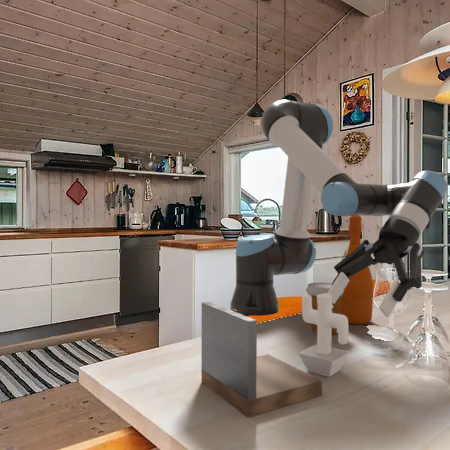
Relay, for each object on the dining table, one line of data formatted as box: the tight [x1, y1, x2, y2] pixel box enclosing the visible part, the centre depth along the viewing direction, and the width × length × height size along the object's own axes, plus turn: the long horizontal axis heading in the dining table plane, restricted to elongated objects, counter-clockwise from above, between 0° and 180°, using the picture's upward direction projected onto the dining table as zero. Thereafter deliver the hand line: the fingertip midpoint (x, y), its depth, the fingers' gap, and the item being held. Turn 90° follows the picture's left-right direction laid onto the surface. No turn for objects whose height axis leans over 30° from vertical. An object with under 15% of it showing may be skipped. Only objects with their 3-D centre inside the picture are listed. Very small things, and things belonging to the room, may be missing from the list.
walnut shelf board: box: [201, 353, 323, 418], centre depth 73 cm, size 15×15×2 cm
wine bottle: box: [339, 215, 374, 325], centre depth 118 cm, size 10×10×30 cm
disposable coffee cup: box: [305, 282, 344, 335], centre depth 108 cm, size 10×10×12 cm
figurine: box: [298, 293, 350, 378], centre depth 81 cm, size 7×9×15 cm
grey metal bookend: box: [201, 301, 258, 401], centre depth 69 cm, size 2×15×12 cm, turn 31°
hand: (354, 305), depth 84 cm, fingers open, 13 cm apart
